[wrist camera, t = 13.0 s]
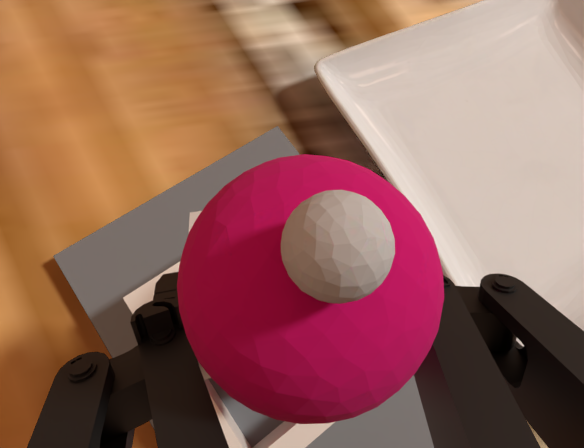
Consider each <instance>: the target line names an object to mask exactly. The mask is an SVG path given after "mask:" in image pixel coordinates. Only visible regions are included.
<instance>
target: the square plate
mask: <svg viewBox="0 0 584 448" xmlns="http://www.w3.org/2000/svg"><path fill="white" fill-rule="evenodd" d="M314 69H315V73H316V75H317V77H318V79H319V81H320V83H321V85H322V86H323V87H324V89H325V91H326V92H327V94H328V96H329V97H330V99H331V100H332V101H333V103H334V104H335V106H336V107H337V109H338V110H339V111H340V113H341V114H342V116H343V117H344V118H345V120H346V121H347V122H348V124H349V125H350V127H351V128H352V130H353V131H354V132H355V134H356V135H357V137H358V138H359V140H360V141H361V142H362V144H363V145H364V147H365V148H366V149H367V151H368V152H369V154H370V156H371V157H372V159H373V160H374V161H375V162H376V164H377V166H378V167H379V169H380V170H381V172H382V173H383V174H384V176H385V177H386V179H387V181H388V182H389V183H390V184H392V185H393V186H394V187H395V188H396V189H397V190H399V191H400V192H401V193H402V194H403V195H404V196H405V197H406V198H407V199H408V200H409V201H410V202H411V204H412V205H413V206H414V207H415V208H416V210H417V211H418V212H419V213H420V214H421V216H422V218H423V220H424V221H425V223H426V225H427V227H428V229H429V231H430V232H431V234H432V236H433V238H434V241H435V244H436V247H437V250H438V254H439V258H440V262H441V266H442V271H443V274H444V276H446V277H447V278H449V279H450V280H451V281H452V282H453V283H454V284H455V286H470V287H480V282H481V279H482V278H483V277H484V276H486V275H489V274H497V273H499V274H506V275H510V276H513V277H515V278H517V279H519V280H521V281H522V282H524V283H525V284H526V285H528V286H529V287H530V288H531V289H532V290H534V291H535V292H536V293H537V294H539V295H540V296H541V297H542V298H544V299H545V300H546V301H547V302H548V303H550V304H551V305H552V306H553V307H555V308H556V309H557V310H558V311H560V312H561V313H562V314H563V315H565V316H566V317H567V318H568V319H569V320H571V321H572V322H573V323H574V324H576V325H577V326H578V327H579V328H581V329H582V330H583V331H584V0H483V1H480V2H478V3H475V4H472V5H469V6H467V7H464V8H461V9H458V10H455V11H453V12H450V13H447V14H444V15H441V16H438V17H436V18H433V19H430V20H427V21H424V22H421V23H418V24H415V25H413V26H410V27H407V28H404V29H401V30H399V31H396V32H393V33H390V34H387V35H384V36H381V37H378V38H375V39H373V40H370V41H367V42H364V43H362V44H359V45H356V46H353V47H350V48H347V49H345V50H342V51H339V52H337V53H334V54H331V55H329V56H326V57H324V58H322V59H320V60H319V61H317V62H316V64H315V66H314ZM516 341H517V342H518V343H519V344H520V345H522V346H523V347H524V345H523V344H522V342H521V341H520V340H519V339H518V338H517V339H516Z"/></svg>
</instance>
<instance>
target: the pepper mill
mask: <svg viewBox="0 0 584 448" xmlns="http://www.w3.org/2000/svg"><path fill="white" fill-rule="evenodd" d="M177 292H178V303H179V312H180V316H181V319H182V323H183V326H184V329H185V333H186V336H187V339H188V341H189V343H190V345H191V347H192V349H193V352H194V354H195V356H196V358H197V360H198V361H199V363H200V365H201V366H202V367H203V368H204V370H205V371H206V372H207V373H208V374H209V376H210V377H211V378H212V379H213V380H214V381H215V382H216V383H217V384H218V385H219V386H220V387H221V388H222V389H223V390H224V391H225V392H226V393H227V394H228V395H229V396H230V397H231V398H233V399H235V400H236V401H238V402H239V403H241V404H243V405H244V406H246V407H248V408H249V409H251V410H252V411H255V412H257V413H260V414H263V415H265V416H268V417H270V418H273V419H276V420H281V421H286V422H292V423H297V424H324V423H332V422H336V421H341V420H346V419H350V418H354V417H356V416H359V415H361V414H363V413H365V412H367V411H370V410H372V409H374V408H376V407H378V406H379V405H381V404H382V403H383V402H385V401H386V400H387V399H389V398H390V397H391V396H393V395H394V394H395V393H397V392H398V391H399V390H400V389H401V388H402V387H403V386H404V385H405V384H406V383H407V382H408V381H409V380H410V378H411V377H412V376H413V375H414V374H415V373H416V371H417V370H418V368H419V367H420V365H421V363H422V362H423V360H424V359H425V357H426V356H427V354H428V352H429V350H430V349H431V346H432V344H433V342H434V339H435V337H436V335H437V333H438V330H439V324H440V319H441V313H442V308H443V302H444V281H443V271H442V266H441V262H440V258H439V254H438V250H437V247H436V244H435V241H434V238H433V236H432V234H431V232H430V231H429V229H428V227H427V225H426V223H425V221H424V220H423V218H422V216H421V214H420V213H419V212H418V211H417V210H416V208H415V207H414V206H413V205H412V204H411V202H410V201H409V200H408V199H407V198H406V197H405V196H404V195H403V194H402V193H401V192H400V191H399V190H397V189H396V188H395V187H394V186H393V185H392V184H390V183H389V182H388V181H386V180H385V179H383V178H382V177H380V176H379V175H377V174H376V173H374V172H373V171H371V170H370V169H367V168H365V167H362V166H360V165H358V164H355V163H353V162H350V161H348V160H343V159H338V158H334V157H329V156H320V155H308V154H302V155H295V156H287V157H280V158H276V159H273V160H270V161H267V162H264V163H262V164H260V165H258V166H256V167H254V168H251V169H249V170H247V171H245V172H243V173H242V174H241V175H239V176H238V177H236V178H235V179H234V180H232V181H231V182H229V183H228V184H226V185H225V186H224V187H223V188H222V189H221V190H220V191H219V192H218V193H217V194H216V195H215V196H214V197H213V198H212V199H211V200H210V201H209V202H208V203H207V205H206V206H205V207H204V209H203V210H202V212H201V213H200V215H199V216H198V217H197V219H196V221H195V222H194V224H193V226H192V228H191V230H190V232H189V234H188V237H187V240H186V243H185V246H184V249H183V252H182V256H181V260H180V264H179V272H178V281H177Z"/></svg>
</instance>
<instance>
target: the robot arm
mask: <svg viewBox="0 0 584 448" xmlns="http://www.w3.org/2000/svg"><path fill="white" fill-rule="evenodd" d="M201 212H202V211H197V212H190V217H189V232H190V230H191V228H192V226H193V224H194V222H195V221H196V219H197V217H198V216H199V215H200V213H201ZM177 281H178V272H173V273H168V274H163V275H162V276H161V278H160V279H159V280H158V281H157V283H156V285H155V290H154V296H153V301H150V302H148V303H146V304H143V305H142V306H140V307H139V308H138V309H136V310H135V312H134V313H133V314H132V316H131V321H130V323H131V326H132V329H133V332H134V335H135V338H136V341H137V344H138V345H137V346H136V347H134V348H133V349H131V350H130V351H128V352H126V353H124V354H121V355H119V356H117V357H114V358H112V359H110V360H109V358H108V357H107V356H106V355H105V354H103V353H100V352H89V353H85V354H82V355H79V356H77V357H75V358H74V359H72V360H70V361H68V362H67V363H66V364H65V365H64V366H63V367H62V368H61V369H60V370H59V372H58V373H57V375H56V376H55V379H54V381H53V384H52V386H51V389H50V391H49V394H48V396H47V399H46V401H45V404H44V406H43V409H42V411H41V414H40V416H39V419H38V421H37V424H36V426H35V429H34V431H33V434H32V436H31V439H30V441H29V444H28V446H27V448H132V443H133V437H134V430H135V429H134V428H136V427H138V426H140V425H142V424H144V423H146V422H148V421H150V420H153V425H154V430H155V435H156V440H157V445H158V448H229V446H228V444H227V441H226V438H225V435H224V433H223V430H222V427H221V424H220V422H219V419H218V416H217V414H216V411H215V408H214V405H213V403H212V400H211V397H210V394H209V392H208V389H207V386H206V384H205V381H204V380H205V379H209V378H211V377H210V376H209V374H208V373H207V372H206V371H205V370H204V368H203V367H202V366H201V365H200V363H199V361H198V360H197V358H196V356H195V354H194V352H193V349H192V347H191V345H190V343H189V341H188V339H187V336H186V333H185V329H184V326H183V323H182V319H181V316H180V312H179V303H178V292H177ZM443 281H444V302H443V308H442V313H441V319H440V324H439V330H438V333H437V335H436V337H435V339H434V342H433V344H432V346H431V349H430V350H429V352H428V354H427V356H426V357H425V359H424V360H423V362H422V363H421V365H420V367H419V368H418V370H417V371H416V373H415V374H414V377H415V381H416V384H417V388H418V392H419V395H420V399H421V402H422V406H423V409H424V413H425V417H426V420H427V424H428V427H429V431H430V434H431V438H432V442H433V445H434V448H540V446H539V444H538V442H537V440H536V438H535V436H534V434H533V433H532V431H531V429H530V427H529V425H528V423H529V424H530V425H531V426H532V428H533V429H534V430H535V431H536V433H537V434H538V435H539V436H540V438H541V439H542V440H543V441H544V442H545V444H546V445H547V446H548V447H549V448H584V331H583V330H582V329H581V328H579V327H578V326H577V325H576V324H574V323H573V322H572V321H571V320H569V319H568V318H567V317H566V316H565V315H563V314H562V313H561V312H560V311H558V310H557V309H556V308H555V307H553V306H552V305H551V304H550V303H548V302H547V301H546V300H545V299H544V298H542V297H541V296H540V295H539V294H537V293H536V292H535V291H534V290H532V289H531V288H530V287H529V286H528V285H526V284H525V283H524V282H522V281H521V280H519V279H517V278H515V277H513V276H510V275H506V274H499V273H497V274H489V275H486V276H484V277H483V278H482V279H481V282H480V287H470V286H455V284H454V283H453V282H452V281H451V280H450V279H449V278H447V277H446V276H444V275H443ZM517 338H518V339H519V340H520V341H521V342H522V344H523V345H524V347H523V346H522V345H520V344H519V343H518V342H517V341H516V339H517ZM526 420H527V421H528V423H527V421H526Z"/></svg>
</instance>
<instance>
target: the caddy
mask: <svg viewBox="0 0 584 448" xmlns="http://www.w3.org/2000/svg"><path fill="white" fill-rule="evenodd" d="M295 155H300V154H299V153H298V151H297V150H296V149H295V148H294V146H293V145H292V144H291V143H290V141H289V140H288V139H287V138H286V136H285V135H284V134H283V132H282V131H281V130H280V129H279V127H278V126H277V127H275V128H273V129H272V130H270V131H268V132H266V133H265V134H263V135H261V136H260V137H258V138H256V139H254V140H253V141H251V142H249V143H248V144H246V145H244V146H242V147H241V148H239V149H237V150H235V151H234V152H232V153H230V154H229V155H227V156H225V157H223V158H222V159H220V160H218V161H216V162H215V163H213V164H211V165H210V166H208V167H206V168H204V169H203V170H201V171H199V172H197V173H196V174H194V175H192V176H191V177H189V178H187V179H185V180H184V181H182V182H180V183H178V184H177V185H175V186H173V187H172V188H170V189H168V190H166V191H165V192H163V193H161V194H159V195H158V196H156V197H154V198H153V199H151V200H149V201H147V202H146V203H144V204H142V205H140V206H139V207H137V208H135V209H134V210H132V211H130V212H128V213H127V214H125V215H123V216H121V217H120V218H118V219H116V220H115V221H113V222H111V223H109V224H108V225H106V226H104V227H102V228H101V229H99V230H97V231H96V232H94V233H92V234H90V235H89V236H87V237H85V238H83V239H82V240H80V241H78V242H77V243H75V244H73V245H71V246H70V247H68V248H66V249H65V250H63V251H61V252H59V253H58V254H56V255H54V256H53V257H54V258H55V260H56V262H57V263H58V265H59V267H60V269H61V270H62V272H63V274H64V275H65V277H66V279H67V281H68V282H69V284H70V286H71V287H72V289H73V291H74V293H75V294H76V296H77V298H78V299H79V301H80V303H81V305H82V306H83V308H84V310H85V311H86V313H87V315H88V317H89V318H90V320H91V322H92V324H93V325H94V327H95V329H96V330H97V332H98V334H99V336H100V337H101V339H102V341H103V342H104V344H105V346H106V348H107V349H108V351H109V353H110V354H111V356H112V358H114V357H117V356H119V355H121V354H124V353H126V352H128V351H130V350H131V349H133V348H134V347H136V346H137V345H138V344H137V341H136V338H135V335H134V332H133V329H132V326H131V323H130V321H131V316H132V314H133V313H134V312H135V310H136V309H138V308H139V307H140V306H142V305H143V304H146V303H148V302H150V301H153V296H154V290H155V285H156V283H157V281H158V280H159V279H160V278H161V276H162V275H163V274H168V273H173V272H179V264H180V260H181V256H182V252H183V249H184V246H185V243H186V240H187V237H188V234H189V217H190V212H197V211H202V210H203V209H204V207H205V206H206V205H207V203H208V202H209V201H210V200H211V199H212V198H213V197H214V196H215V195H216V194H217V193H218V192H219V191H220V190H221V189H222V188H223V187H224V186H225V185H226V184H228V183H229V182H231V181H232V180H234V179H235V178H236V177H238V176H239V175H241V174H242V173H243V172H245V171H247V170H249V169H251V168H254V167H256V166H258V165H260V164H262V163H264V162H267V161H270V160H273V159H276V158H280V157H287V156H295ZM204 381H205V384H206V386H207V389H208V392H209V394H210V397H211V400H212V403H213V405H214V408H215V411H216V414H217V416H218V419H219V422H220V424H221V427H222V430H223V433H224V435H225V438H226V441H227V444H228V446H229V448H434V445H433V442H432V438H431V434H430V431H429V427H428V424H427V420H426V417H425V413H424V409H423V406H422V402H421V399H420V395H419V392H418V388H417V384H416V381H415V377H414V375H413V376H412V377H411V378H410V380H409V381H408V382H407V383H406V384H405V385H404V386H403V387H402V388H401V389H400V390H399V391H398V392H397V393H395V394H394V395H393V396H391V397H390V398H389V399H387V400H386V401H385V402H383V403H382V404H381V405H379V406H378V407H376V408H374V409H372V410H370V411H367V412H365V413H363V414H361V415H359V416H356V417H354V418H350V419H346V420H341V421H336V422H332V423H324V424H297V423H292V422H286V421H281V420H276V419H273V418H270V417H268V416H265V415H263V414H260V413H257V412H255V411H252V410H251V409H249V408H248V407H246V406H244V405H243V404H241V403H239V402H238V401H236V400H235V399H233V398H231V397H230V396H229V395H228V394H227V393H226V392H225V391H224V390H223V389H222V388H221V387H220V386H219V385H218V384H217V383H216V382H215V381H214V380H213V379H212V378H209V379H205V380H204ZM150 423H151V425H152V427H153V428H154V425H153V420H150Z"/></svg>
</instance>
